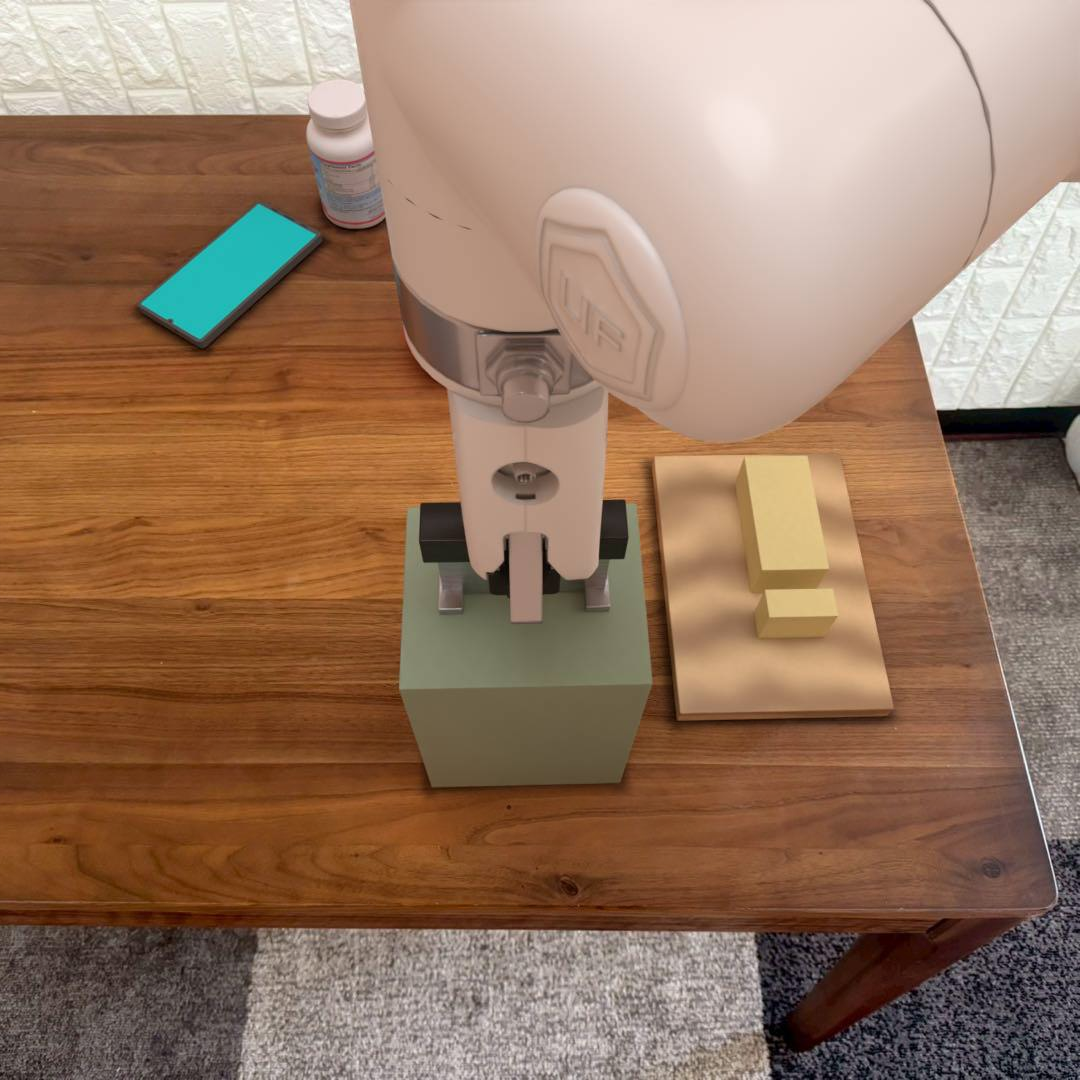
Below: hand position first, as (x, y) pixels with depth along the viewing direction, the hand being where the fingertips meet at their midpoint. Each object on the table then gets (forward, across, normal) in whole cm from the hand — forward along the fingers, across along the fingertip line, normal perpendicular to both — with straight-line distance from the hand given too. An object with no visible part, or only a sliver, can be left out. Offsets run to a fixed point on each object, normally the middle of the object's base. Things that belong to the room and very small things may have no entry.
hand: (523, 561), depth 45 cm
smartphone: (+21, +39, +24) cm, 50 cm away
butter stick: (+20, +12, -18) cm, 29 cm away
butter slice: (+20, +5, -18) cm, 27 cm away
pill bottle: (+21, +47, +14) cm, 54 cm away
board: (+21, +9, -17) cm, 29 cm away
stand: (+21, 0, 0) cm, 21 cm away
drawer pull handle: (+3, 0, 0) cm, 3 cm away
